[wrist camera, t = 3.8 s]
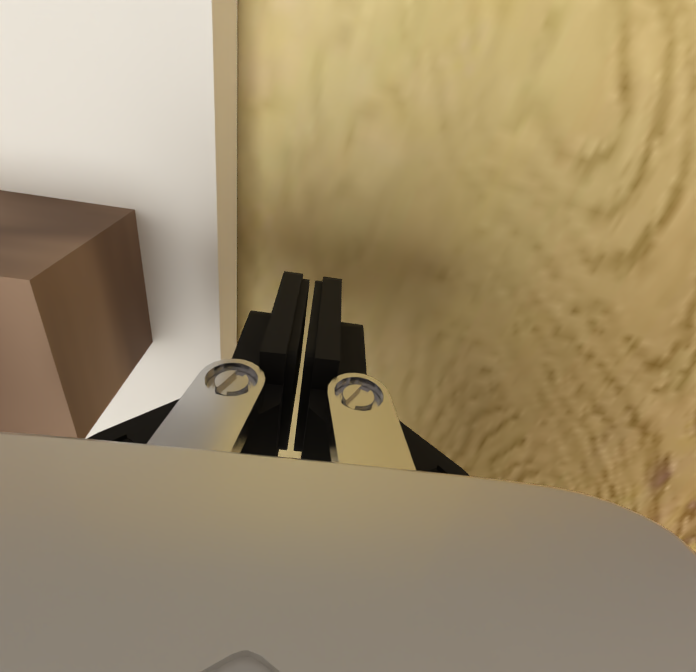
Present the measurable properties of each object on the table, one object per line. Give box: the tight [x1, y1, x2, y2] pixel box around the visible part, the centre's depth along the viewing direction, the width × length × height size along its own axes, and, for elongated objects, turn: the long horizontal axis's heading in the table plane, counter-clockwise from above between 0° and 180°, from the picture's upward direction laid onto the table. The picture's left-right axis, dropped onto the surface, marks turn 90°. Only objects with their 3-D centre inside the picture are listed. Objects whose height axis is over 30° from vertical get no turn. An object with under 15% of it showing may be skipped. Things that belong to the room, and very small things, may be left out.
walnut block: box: [0, 190, 153, 438], centre depth 10 cm, size 4×4×4 cm
